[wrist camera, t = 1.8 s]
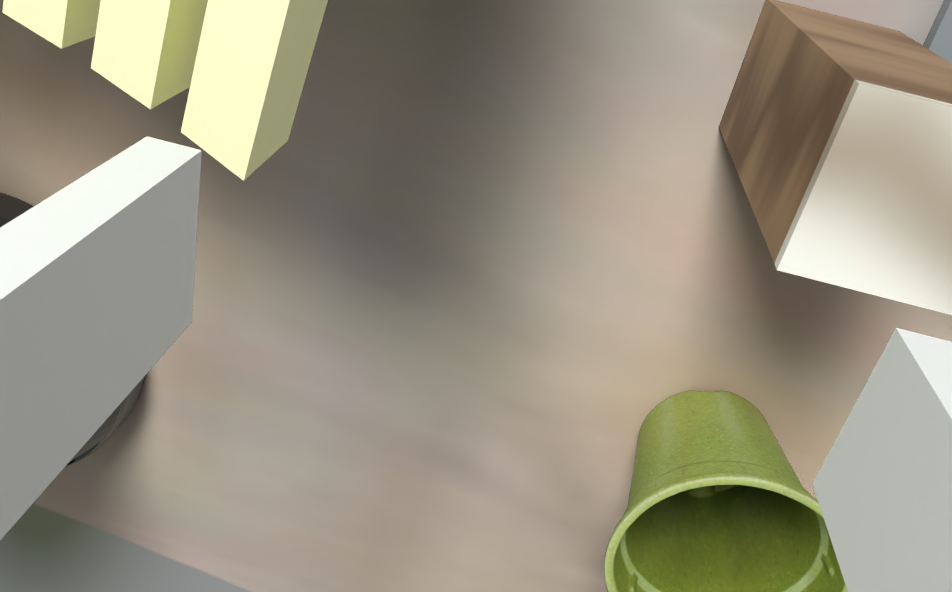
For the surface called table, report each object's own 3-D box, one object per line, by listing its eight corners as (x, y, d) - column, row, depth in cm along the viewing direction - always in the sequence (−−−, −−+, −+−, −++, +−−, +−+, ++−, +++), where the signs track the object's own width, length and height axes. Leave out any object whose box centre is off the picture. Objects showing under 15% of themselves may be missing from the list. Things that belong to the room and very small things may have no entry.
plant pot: (705, 316, 37) (730, 435, 30) (852, 438, 39) (911, 579, 32) (564, 439, 42) (555, 571, 34) (703, 544, 43) (724, 692, 36)
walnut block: (842, 158, 33) (964, 318, 22) (718, 127, 34) (776, 269, 22) (899, 31, 31) (1070, 137, 20) (766, -3, 31) (859, 83, 20)
